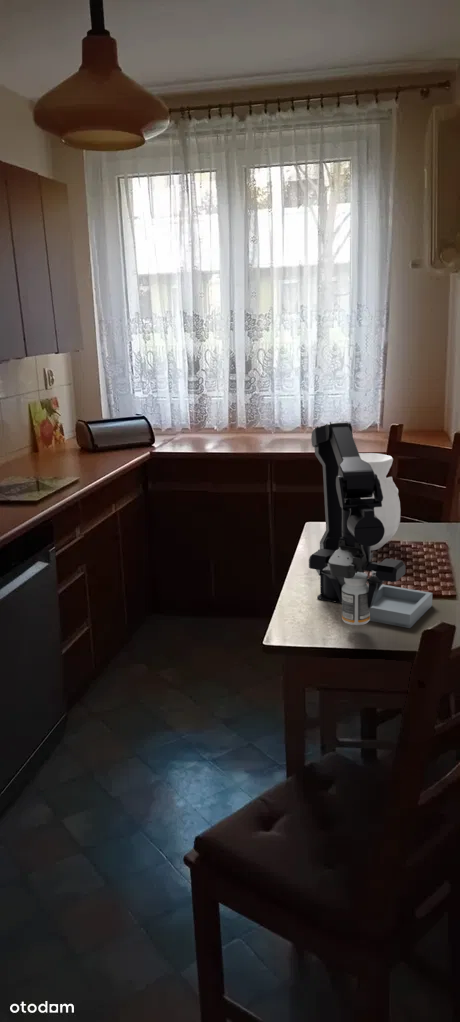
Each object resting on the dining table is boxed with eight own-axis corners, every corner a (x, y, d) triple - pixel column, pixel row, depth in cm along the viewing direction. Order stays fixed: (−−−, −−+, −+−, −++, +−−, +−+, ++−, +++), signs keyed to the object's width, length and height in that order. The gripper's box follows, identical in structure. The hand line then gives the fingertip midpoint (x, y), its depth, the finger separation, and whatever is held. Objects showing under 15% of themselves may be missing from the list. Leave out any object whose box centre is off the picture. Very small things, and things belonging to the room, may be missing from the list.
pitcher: (390, 559, 205) (391, 465, 198) (322, 552, 213) (322, 461, 206) (407, 539, 221) (409, 452, 214) (344, 533, 229) (344, 449, 222)
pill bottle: (366, 614, 163) (367, 569, 161) (372, 625, 158) (373, 579, 155) (339, 615, 163) (339, 570, 161) (344, 627, 158) (344, 580, 155)
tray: (355, 617, 168) (356, 604, 168) (380, 596, 180) (380, 584, 179) (409, 628, 162) (410, 614, 161) (432, 605, 173) (432, 592, 173)
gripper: (295, 535, 154) (296, 610, 158) (385, 548, 144) (384, 627, 148) (320, 521, 163) (321, 592, 167) (407, 532, 153) (405, 607, 157)
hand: (355, 604), depth 160 cm, fingers closed on pill bottle, 6 cm apart
